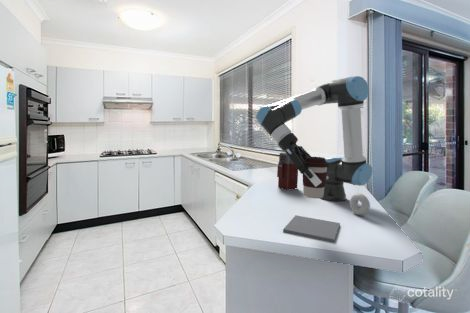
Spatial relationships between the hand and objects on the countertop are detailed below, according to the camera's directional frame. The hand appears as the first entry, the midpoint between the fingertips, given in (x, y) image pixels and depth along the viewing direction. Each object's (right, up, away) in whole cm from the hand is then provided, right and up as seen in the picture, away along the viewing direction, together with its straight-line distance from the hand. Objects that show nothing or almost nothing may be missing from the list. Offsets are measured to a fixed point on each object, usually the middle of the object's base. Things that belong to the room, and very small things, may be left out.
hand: (322, 182), depth 95 cm
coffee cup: (-3, -6, +2) cm, 7 cm away
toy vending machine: (+1, -12, +72) cm, 73 cm away
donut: (+24, -17, +21) cm, 36 cm away
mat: (-3, -18, +4) cm, 19 cm away
